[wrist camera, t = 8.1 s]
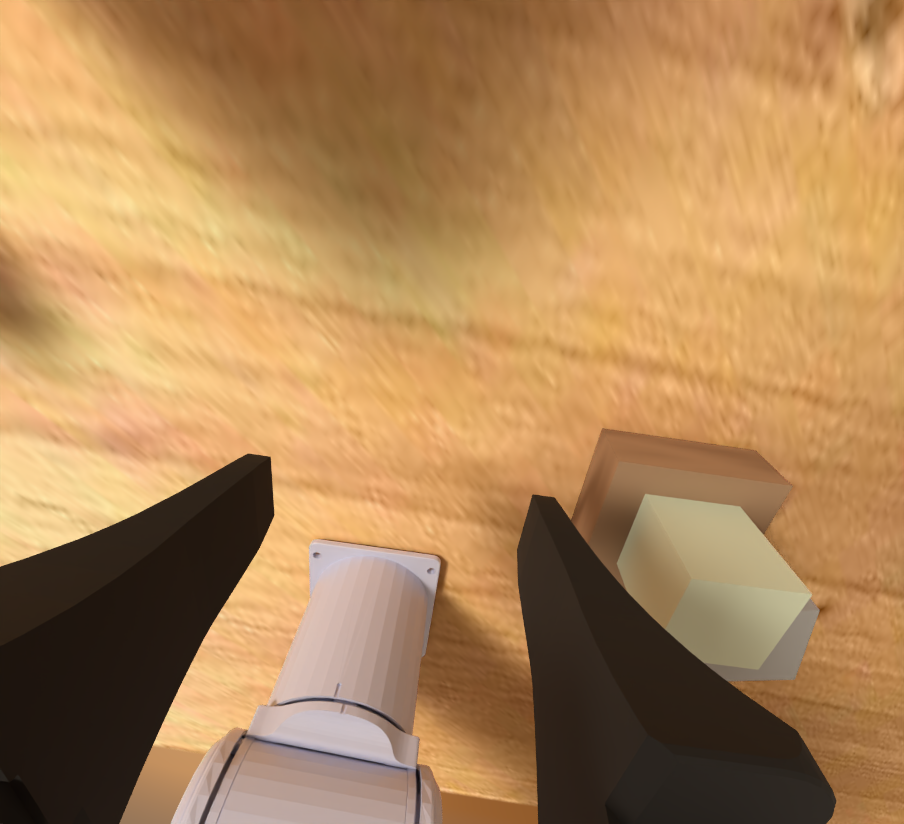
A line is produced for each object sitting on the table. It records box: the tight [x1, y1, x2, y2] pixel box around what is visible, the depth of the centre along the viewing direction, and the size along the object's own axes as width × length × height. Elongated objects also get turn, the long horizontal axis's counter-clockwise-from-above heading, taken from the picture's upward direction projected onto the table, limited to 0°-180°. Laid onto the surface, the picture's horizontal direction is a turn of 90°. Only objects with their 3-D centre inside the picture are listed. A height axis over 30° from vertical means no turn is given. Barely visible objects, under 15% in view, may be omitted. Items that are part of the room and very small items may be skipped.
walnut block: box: [571, 429, 793, 591], centre depth 23 cm, size 8×8×3 cm
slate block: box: [705, 599, 820, 681], centre depth 26 cm, size 6×6×3 cm
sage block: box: [617, 494, 812, 670], centre depth 19 cm, size 4×4×5 cm
